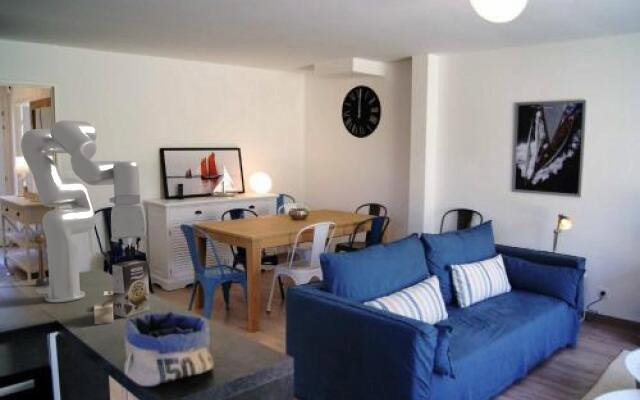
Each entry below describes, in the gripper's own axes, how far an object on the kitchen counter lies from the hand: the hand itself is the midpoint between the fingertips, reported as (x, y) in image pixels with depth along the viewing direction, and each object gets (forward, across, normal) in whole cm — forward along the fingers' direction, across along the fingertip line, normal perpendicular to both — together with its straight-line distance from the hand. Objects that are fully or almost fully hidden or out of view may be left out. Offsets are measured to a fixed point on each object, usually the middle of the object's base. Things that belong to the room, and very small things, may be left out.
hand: (130, 258), depth 164 cm
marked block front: (+18, -8, -6) cm, 20 cm away
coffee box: (+18, 0, 0) cm, 18 cm away
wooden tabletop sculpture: (+17, -33, +51) cm, 64 cm away
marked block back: (+17, -6, +9) cm, 21 cm away
